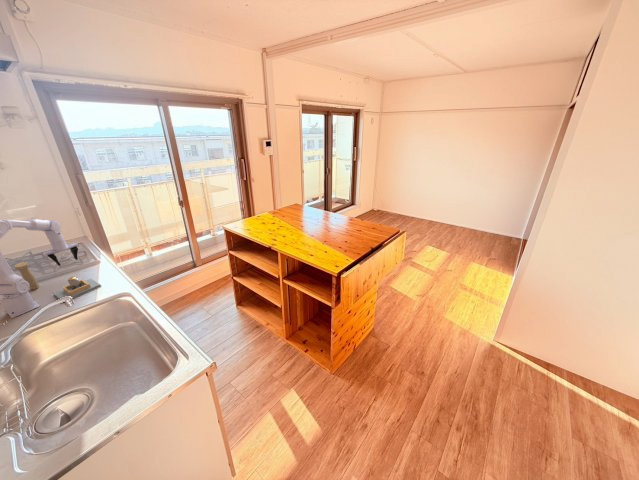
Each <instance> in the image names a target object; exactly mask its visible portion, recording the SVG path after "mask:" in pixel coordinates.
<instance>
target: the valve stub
mask: <svg viewBox="0 0 639 480" xmlns="http://www.w3.org/2000/svg"><path fill="white" fill-rule="evenodd" d="M67 282H68V285H70V286H71V288H72V290H74V289H77V288H79V287H82V285H81V283H80V279H79V277H77V276H72V277H69V278H68V280H67Z"/></svg>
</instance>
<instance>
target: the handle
mask: <svg viewBox="0 0 639 480" xmlns="http://www.w3.org/2000/svg"><path fill="white" fill-rule="evenodd" d="M29 266H30V264H29V263H28V262H27V261H22V262H18V263H16V264H15V265H13V267H14V269H15V270H18V271H19V272H20V276H21V277H23V279H24V280H25V281H27V282H28V283H29V285H30V288H29V290H33V291H34V290H36V289H39V287H40V286H39V284H38V283H39V282H38V281H37V279H36V277H35V276H34V274H33V273H32V271H31V270H30V269H29Z"/></svg>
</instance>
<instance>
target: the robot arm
mask: <svg viewBox="0 0 639 480" xmlns="http://www.w3.org/2000/svg"><path fill="white" fill-rule="evenodd" d="M61 225H62V223H60V222H58V221H57V220H54V219H51V220H49V219H46V218H43V219H38V218H37V217H36V218H35V217H31V218H28V219H26V220H17V219H0V240H1V239H2V238H3V237H5V236H6V235H7V234H8V233H9V232H10V230H11V231H12V229H13V228H18V229H19V228H24V229H26V230H27V231H38V232H44V234H45V236H46V237H47V239H48V241H49V243H50V245H51V247H52V249H49V250H48V251H44V252H42V254H43V256H44V257H46V258H47V257H48V258H50V259H51V260H52V261H53V262H55V263H56V264H57V266H59V267H60V266H61V263H60V262H59V260H58V258H57V256H56V254H57V253H61V252H64V251H68V250H70V252H71V254H72V256H73V258H74V259H75V261H78V260H79V259H78V251H79V248H78V247H80V246H79V243H78V242H75V243H71V244H67V242H66V240H65V237H64V236H63V233H62V230H61V227H62V226H61ZM29 290H30V285H29V283H28V282H27V281H25V280H24V279H23V277H22V275H18V274H16V273H15V272H14V271H13V269H12V268H11V266H10V264H9V263H8V261H7V260H6V258H5V256H4V255H3V253H2V252H1V250H0V295H1V296H2V297H3V298H1V299H0V305H1V306H2V308H4V312H5V314H8V316H9V317H10V319H11V318H12V319H13V318H17V317H18V316H20V315H23V314H26V313H28V312H30V311H32V310H35V309H37V308H40V304H38V303H37V302H36V301H35V300H34V299H33V296H31V293H30V291H29Z"/></svg>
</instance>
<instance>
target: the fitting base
mask: <svg viewBox="0 0 639 480" xmlns="http://www.w3.org/2000/svg"><path fill="white" fill-rule="evenodd" d="M79 281H80V283H81V285H82V287H79V288H77V289H74V290H72V288H71V286H70V284H68V285H65V286H63V287H62V289H61V290H58V291H56V292H54V293H53V295H54V296H55V297H56V298H57V299H59V298H62V297H65V296H71V297H73V299H76V298H78V297H80V296H82V295H84V294H86V293H89V292H91V291H94V290H96V289H98V288H101V287H102V285H101V284H100V283H99V282H97V281H96V280H95V279H92V278H89V279H88V278H87V279H86V280H84V279H81V280H80V279H79ZM100 286H101V287H100Z"/></svg>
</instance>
